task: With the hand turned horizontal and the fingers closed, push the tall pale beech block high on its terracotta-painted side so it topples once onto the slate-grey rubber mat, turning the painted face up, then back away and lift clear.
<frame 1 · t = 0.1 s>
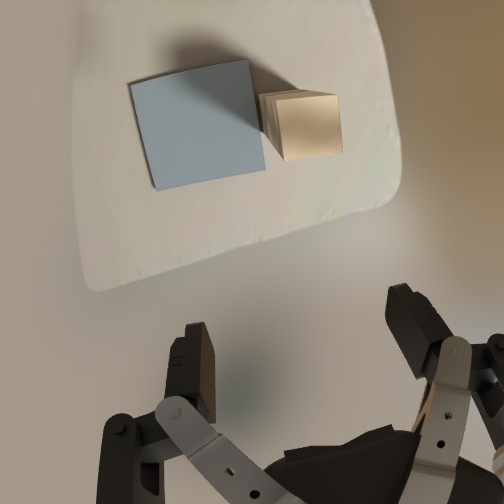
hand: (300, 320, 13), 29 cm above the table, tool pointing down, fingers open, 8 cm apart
beech block: (281, 111, 36), on the table
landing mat: (199, 125, 36), on the table
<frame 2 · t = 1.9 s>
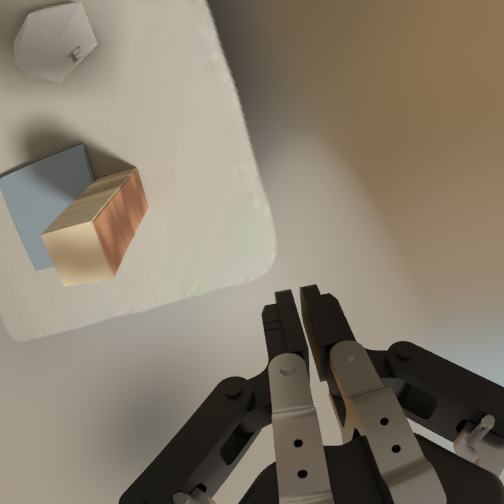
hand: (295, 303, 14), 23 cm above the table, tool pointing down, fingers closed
die: (70, 44, 24), on the table
beech block: (122, 193, 34), on the table
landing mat: (55, 212, 34), on the table
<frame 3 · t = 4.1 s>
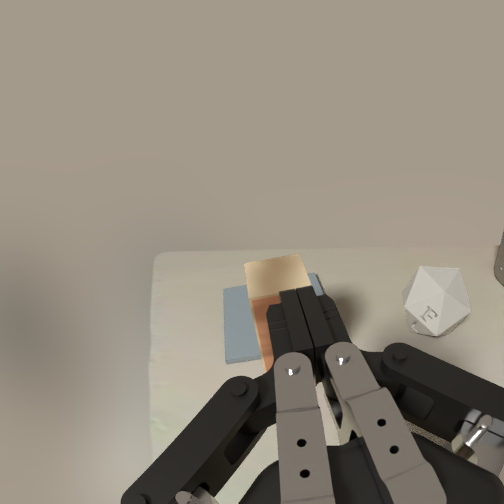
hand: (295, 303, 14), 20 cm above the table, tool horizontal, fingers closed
die: (428, 325, 35), on the table
beech block: (289, 374, 34), on the table
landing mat: (276, 315, 42), on the table
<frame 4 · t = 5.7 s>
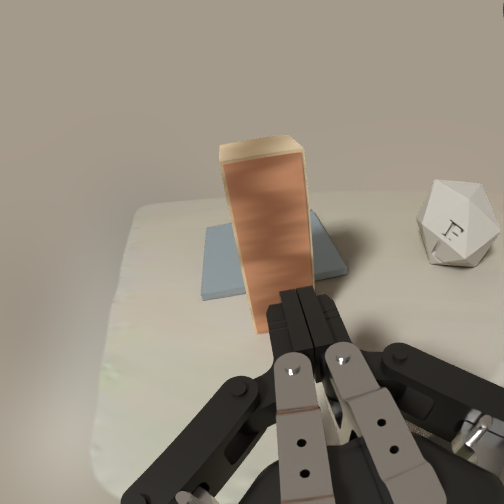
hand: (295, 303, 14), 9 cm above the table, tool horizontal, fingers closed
die: (450, 259, 29), on the table
beech block: (281, 309, 27), on the table
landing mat: (267, 250, 36), on the table
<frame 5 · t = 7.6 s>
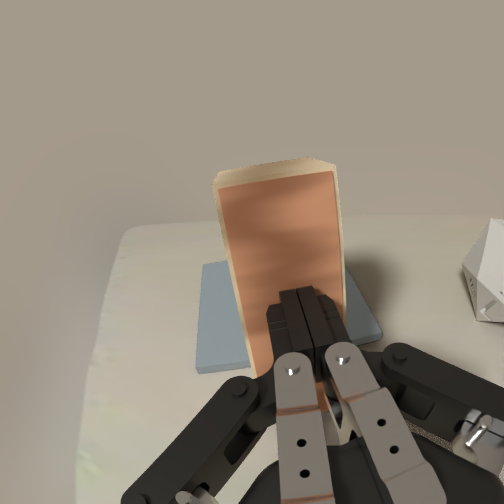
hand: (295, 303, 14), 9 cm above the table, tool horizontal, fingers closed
die: (497, 311, 21), on the table
beech block: (298, 388, 19), on the table, tilted 10°
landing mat: (278, 300, 28), on the table
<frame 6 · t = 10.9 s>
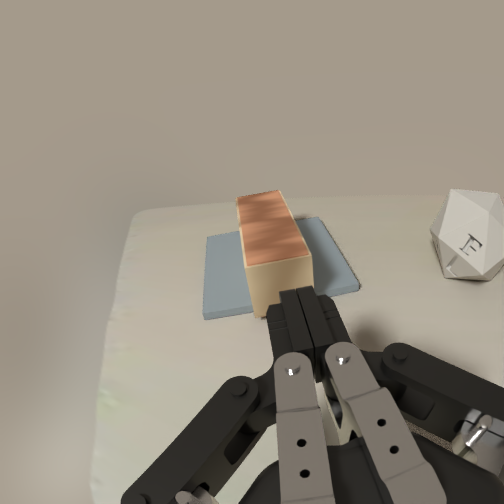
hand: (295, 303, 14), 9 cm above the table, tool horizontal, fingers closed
die: (465, 271, 27), on the table
beech block: (282, 288, 24), point 3 cm above the table, tilted 90°, touching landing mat
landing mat: (272, 262, 34), on the table
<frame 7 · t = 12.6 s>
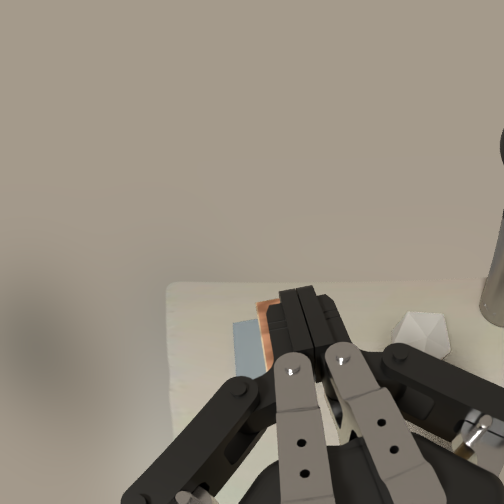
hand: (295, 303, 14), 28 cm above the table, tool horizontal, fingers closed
die: (414, 359, 40), on the table
beech block: (288, 381, 38), point 3 cm above the table, tilted 90°, touching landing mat
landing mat: (280, 349, 47), on the table
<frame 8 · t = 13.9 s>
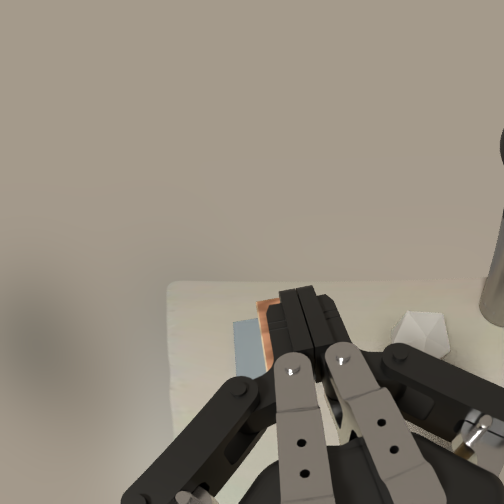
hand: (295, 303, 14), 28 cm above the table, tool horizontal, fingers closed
die: (414, 359, 40), on the table
beech block: (288, 380, 38), point 3 cm above the table, tilted 90°, touching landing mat
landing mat: (280, 348, 47), on the table
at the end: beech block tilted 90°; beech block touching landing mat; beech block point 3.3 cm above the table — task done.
